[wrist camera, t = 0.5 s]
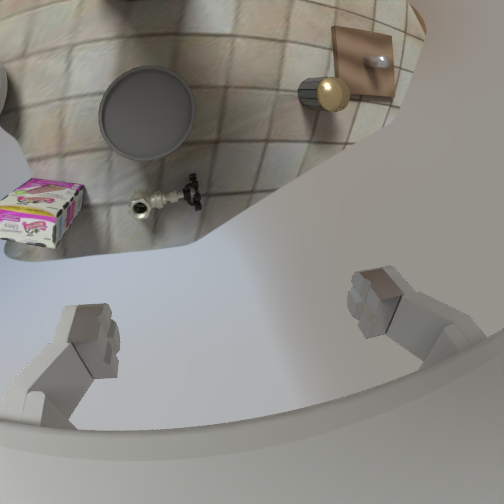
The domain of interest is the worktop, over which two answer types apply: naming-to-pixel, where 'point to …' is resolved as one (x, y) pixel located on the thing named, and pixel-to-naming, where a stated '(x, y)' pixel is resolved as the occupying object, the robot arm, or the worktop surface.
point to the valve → (162, 199)
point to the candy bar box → (40, 212)
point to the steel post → (376, 61)
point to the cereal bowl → (2, 85)
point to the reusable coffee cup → (147, 113)
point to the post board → (351, 61)
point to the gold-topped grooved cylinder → (324, 94)
